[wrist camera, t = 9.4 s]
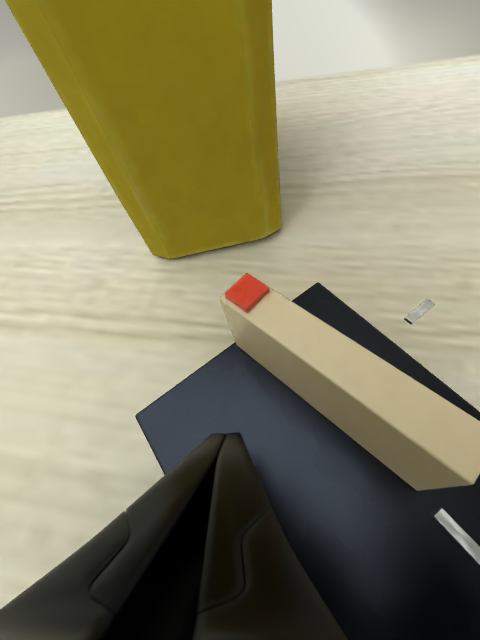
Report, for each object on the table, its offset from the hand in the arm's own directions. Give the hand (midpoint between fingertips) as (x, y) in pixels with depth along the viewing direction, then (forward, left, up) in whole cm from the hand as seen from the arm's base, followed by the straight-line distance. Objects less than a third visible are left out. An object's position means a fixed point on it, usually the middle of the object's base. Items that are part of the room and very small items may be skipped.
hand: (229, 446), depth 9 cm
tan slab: (0, -4, -2) cm, 4 cm away
